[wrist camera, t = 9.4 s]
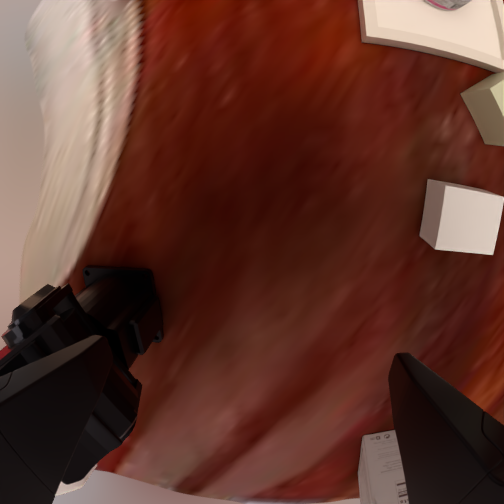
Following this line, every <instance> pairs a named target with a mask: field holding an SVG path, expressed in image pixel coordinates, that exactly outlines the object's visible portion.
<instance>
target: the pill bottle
mask: <svg viewBox="0 0 504 504" xmlns="http://www.w3.org/2000/svg"><path fill="white" fill-rule="evenodd" d="M424 1H426V2H427V3H429V4H431V5H432V6H434V7H436V8H439V9H442V10H447V11H452V10H457V9H459V8H461V7H463V6H464V5H466V4H467V3H469V2H470V1H472V0H424Z"/></svg>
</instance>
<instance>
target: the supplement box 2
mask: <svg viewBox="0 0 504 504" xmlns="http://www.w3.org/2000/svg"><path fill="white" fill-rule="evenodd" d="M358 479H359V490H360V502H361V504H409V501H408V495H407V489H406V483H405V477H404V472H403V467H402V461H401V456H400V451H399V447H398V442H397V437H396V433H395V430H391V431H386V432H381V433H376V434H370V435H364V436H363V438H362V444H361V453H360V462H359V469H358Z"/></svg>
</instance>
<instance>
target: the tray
mask: <svg viewBox="0 0 504 504" xmlns="http://www.w3.org/2000/svg"><path fill="white" fill-rule="evenodd" d="M358 8H359V17H360V27H361V38H362V42H364V43H372V44H379V45H386V46H393V47H399V48H404V49H410V50H415V51H420V52H424V53H429V54H433V55H437V56H442V57H446V58H449V59H453V60H457V61H460V62H464V63H467V64H471V65H474V66H477V67H480V68H483V69H486V70H489V71H492V72H495V73H500V72H504V4H503V0H472V1H470V2H469V3H467V4H466V5H464V6H463V7H461V8H459V9H457V10H452V11H447V10H442V9H439V8H436V7H434V6H432V5H431V4H429V3H427V2H426V1H424V0H358Z"/></svg>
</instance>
